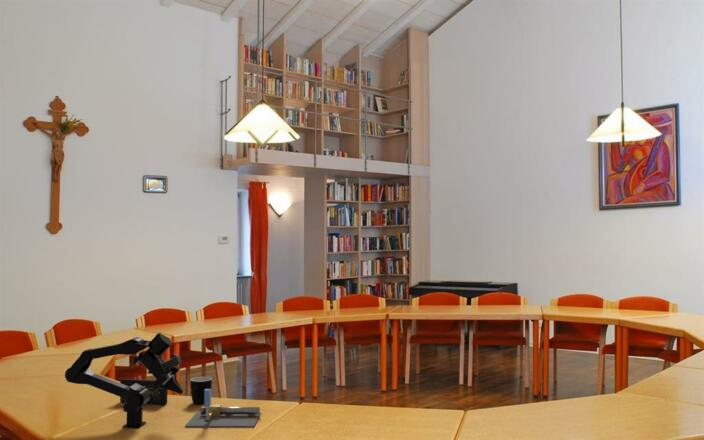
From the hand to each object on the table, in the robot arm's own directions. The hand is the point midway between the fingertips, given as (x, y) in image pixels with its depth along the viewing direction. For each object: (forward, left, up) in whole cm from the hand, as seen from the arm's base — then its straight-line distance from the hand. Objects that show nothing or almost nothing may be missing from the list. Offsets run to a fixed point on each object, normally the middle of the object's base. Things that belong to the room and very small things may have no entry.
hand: (182, 392), depth 234 cm
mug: (+30, +4, -13) cm, 33 cm away
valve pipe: (+9, -15, -12) cm, 21 cm away
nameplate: (+28, +28, -13) cm, 42 cm away
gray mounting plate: (+9, -14, -12) cm, 20 cm away
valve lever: (+1, -10, -10) cm, 14 cm away
